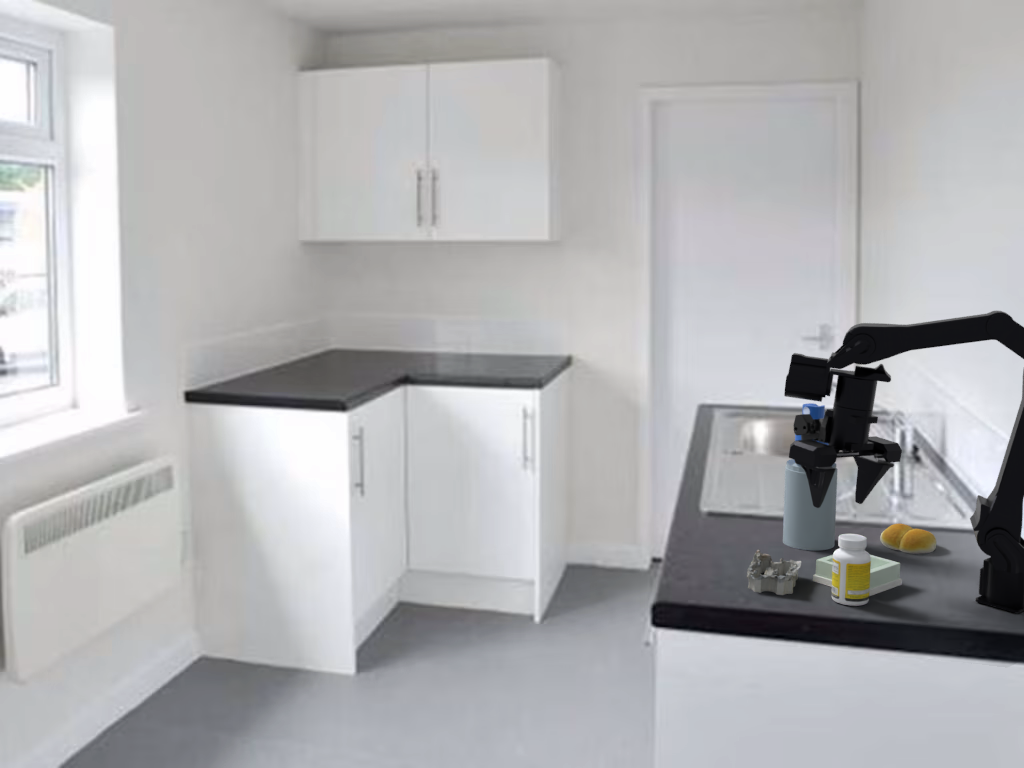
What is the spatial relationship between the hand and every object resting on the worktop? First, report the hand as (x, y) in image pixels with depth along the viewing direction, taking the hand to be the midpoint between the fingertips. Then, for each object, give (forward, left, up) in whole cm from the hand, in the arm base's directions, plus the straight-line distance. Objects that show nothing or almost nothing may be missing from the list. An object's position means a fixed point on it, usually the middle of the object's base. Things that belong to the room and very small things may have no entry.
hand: (837, 505), depth 158 cm
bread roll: (+5, -27, -13) cm, 31 cm away
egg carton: (+7, +6, -13) cm, 16 cm away
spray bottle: (+17, -15, -13) cm, 26 cm away
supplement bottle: (-5, +4, -13) cm, 15 cm away
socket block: (-1, -4, -13) cm, 14 cm away
